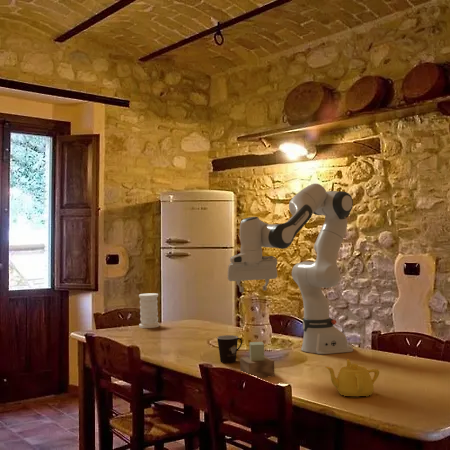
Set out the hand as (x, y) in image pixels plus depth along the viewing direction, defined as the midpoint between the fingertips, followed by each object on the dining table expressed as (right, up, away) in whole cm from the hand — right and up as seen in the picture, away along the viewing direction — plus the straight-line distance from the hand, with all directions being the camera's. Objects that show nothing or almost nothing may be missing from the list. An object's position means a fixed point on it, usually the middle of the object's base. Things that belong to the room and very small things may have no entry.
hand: (253, 290), depth 243 cm
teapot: (+31, -29, -44) cm, 61 cm away
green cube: (+1, -24, -17) cm, 29 cm away
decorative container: (-54, -31, +94) cm, 112 cm away
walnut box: (+1, -30, -17) cm, 34 cm away
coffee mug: (-9, -30, +6) cm, 32 cm away
